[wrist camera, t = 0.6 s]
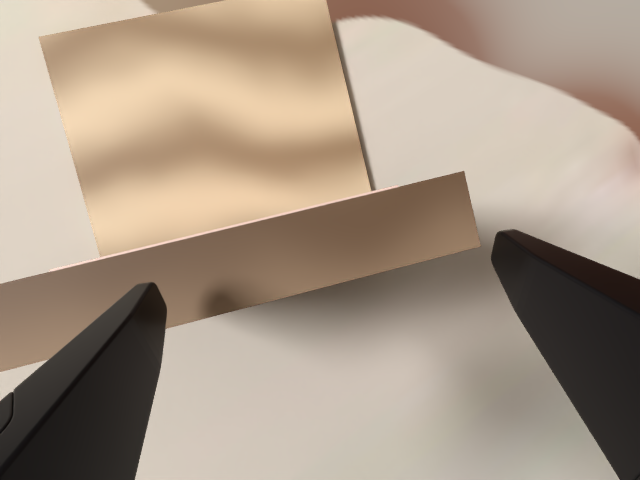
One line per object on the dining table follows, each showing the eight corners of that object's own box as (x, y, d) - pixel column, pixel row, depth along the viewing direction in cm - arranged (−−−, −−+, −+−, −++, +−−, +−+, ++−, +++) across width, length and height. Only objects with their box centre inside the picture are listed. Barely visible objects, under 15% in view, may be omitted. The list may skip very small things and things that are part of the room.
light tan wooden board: (386, 263, 24) (388, 263, 23) (124, 331, 23) (121, 333, 22) (321, -15, 23) (321, -19, 22) (43, 40, 22) (38, 37, 21)
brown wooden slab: (382, 236, 23) (480, 246, 11) (147, 296, 22) (-19, 376, 10) (372, 198, 23) (463, 167, 11) (135, 256, 22) (-45, 290, 10)
